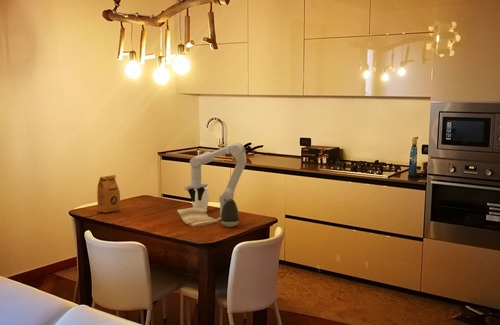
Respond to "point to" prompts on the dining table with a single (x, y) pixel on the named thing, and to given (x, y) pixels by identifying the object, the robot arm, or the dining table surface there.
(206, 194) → the jar
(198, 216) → the cream folded cloth
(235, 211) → the smart speaker
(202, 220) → the folded beige cloth
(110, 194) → the coffee package
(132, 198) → the dining table surface
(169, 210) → the dining table surface
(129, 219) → the dining table surface
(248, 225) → the dining table surface
